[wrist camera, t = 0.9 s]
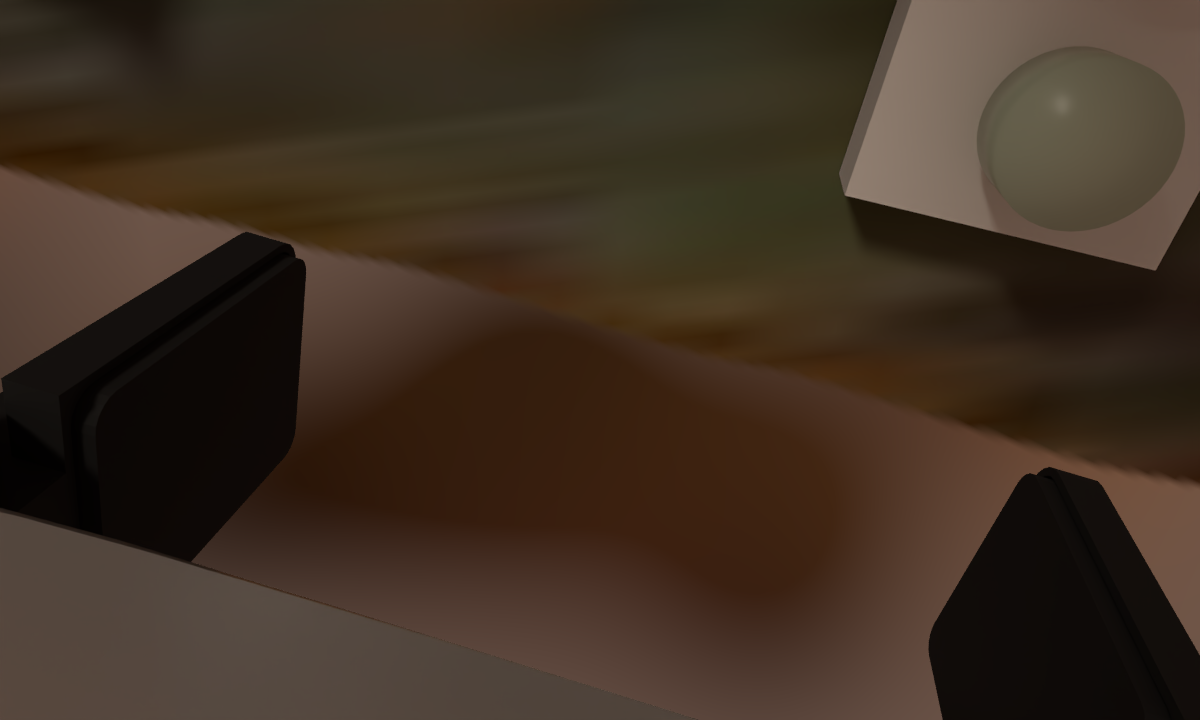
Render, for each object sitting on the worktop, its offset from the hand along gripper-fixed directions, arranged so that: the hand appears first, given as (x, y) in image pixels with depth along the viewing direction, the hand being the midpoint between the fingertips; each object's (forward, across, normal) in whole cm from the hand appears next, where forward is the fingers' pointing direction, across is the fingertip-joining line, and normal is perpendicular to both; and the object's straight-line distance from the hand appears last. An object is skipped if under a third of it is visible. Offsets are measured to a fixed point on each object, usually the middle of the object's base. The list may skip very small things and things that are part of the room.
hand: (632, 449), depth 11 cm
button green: (+20, -10, -3) cm, 23 cm away
